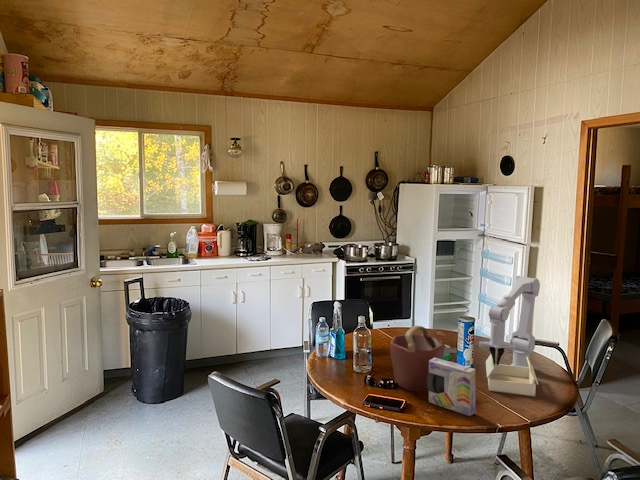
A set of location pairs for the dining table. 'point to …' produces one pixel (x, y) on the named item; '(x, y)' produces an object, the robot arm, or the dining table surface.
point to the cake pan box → (451, 386)
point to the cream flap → (532, 370)
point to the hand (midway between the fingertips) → (495, 364)
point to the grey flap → (489, 366)
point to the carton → (512, 380)
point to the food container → (449, 353)
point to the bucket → (414, 358)
